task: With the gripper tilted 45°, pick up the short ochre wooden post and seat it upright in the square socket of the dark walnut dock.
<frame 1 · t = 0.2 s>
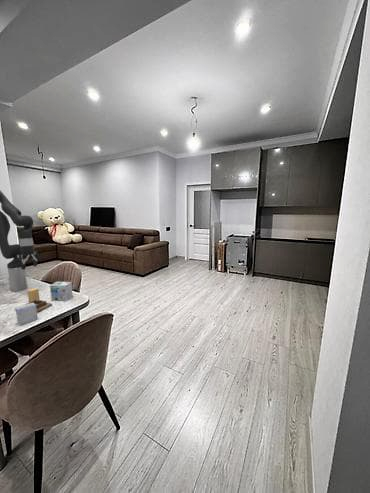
hand: (29, 267, 139), 18 cm above the table, tool pointing down, fingers open, 8 cm apart
walnut dock: (35, 308, 119), on the table
light bulb box: (62, 298, 132), on the table
ochre post: (34, 301, 128), on the table
medicine box: (27, 321, 106), on the table
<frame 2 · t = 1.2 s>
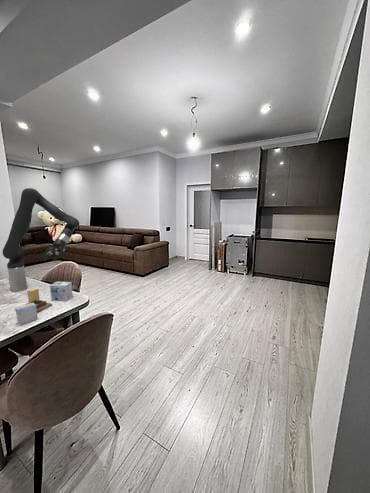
hand: (49, 260, 136), 24 cm above the table, tool tilted 45°, fingers open, 8 cm apart
nothing on the table moved.
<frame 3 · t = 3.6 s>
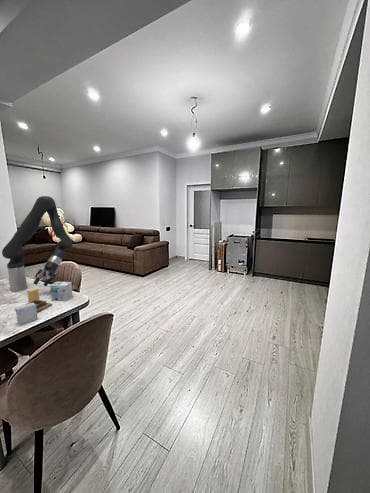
hand: (39, 284, 131), 9 cm above the table, tool tilted 45°, fingers open, 8 cm apart
nothing on the table moved.
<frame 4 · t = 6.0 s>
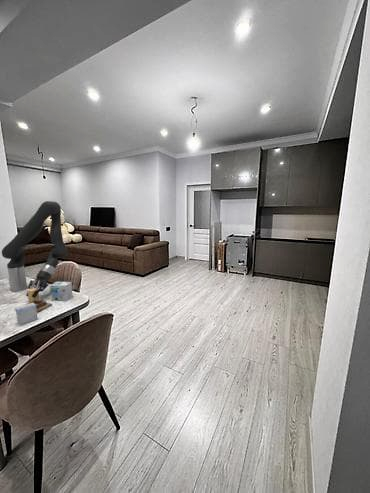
hand: (30, 296, 125), 4 cm above the table, tool tilted 45°, fingers closed on ochre post, 4 cm apart
ochre post: (34, 301, 128), on the table, touching gripper
everything else where it was.
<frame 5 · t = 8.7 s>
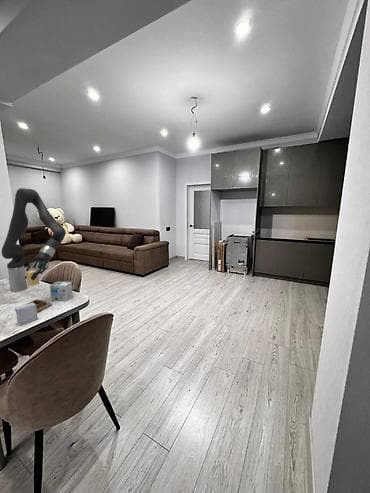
hand: (29, 278, 116), 18 cm above the table, tool tilted 45°, fingers closed on ochre post, 4 cm apart
ochre post: (33, 284, 119), point 14 cm above the table, touching gripper
everything else where it was.
when the fingers open (6 cm above the table, at t = 11.7 s): ochre post stays where it is, resting on walnut dock.
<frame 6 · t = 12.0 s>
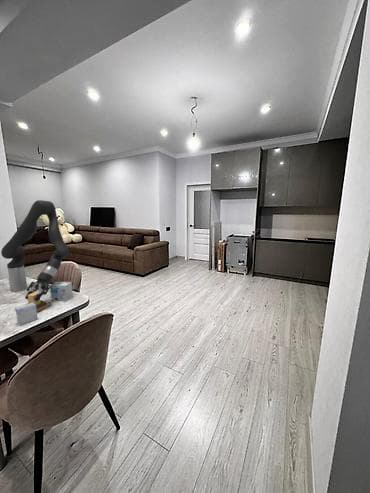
hand: (31, 299, 116), 6 cm above the table, tool tilted 45°, fingers open, 6 cm apart
ochre post: (35, 306, 118), point 1 cm above the table, touching walnut dock
everything else where it was.
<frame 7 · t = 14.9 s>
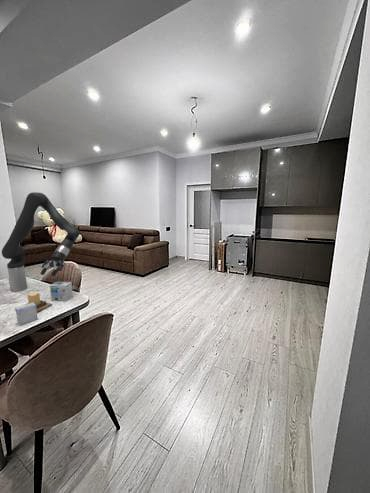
hand: (46, 275, 124), 18 cm above the table, tool tilted 45°, fingers open, 8 cm apart
nothing on the table moved.
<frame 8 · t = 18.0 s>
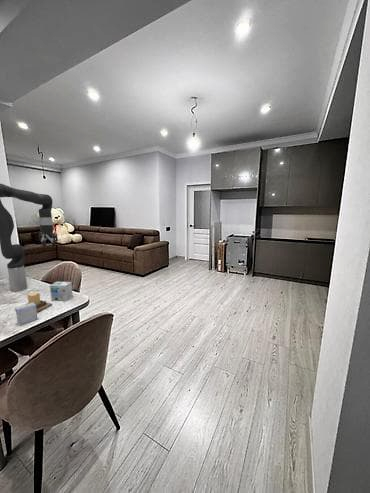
hand: (49, 247, 139), 32 cm above the table, tool pointing down, fingers open, 8 cm apart
nothing on the table moved.
at the end: ochre post 0.1 cm off-centre on the walnut dock, point 1.2 cm above the walnut dock's base; ochre post tilted 0°; the gripper is holding nothing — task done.
